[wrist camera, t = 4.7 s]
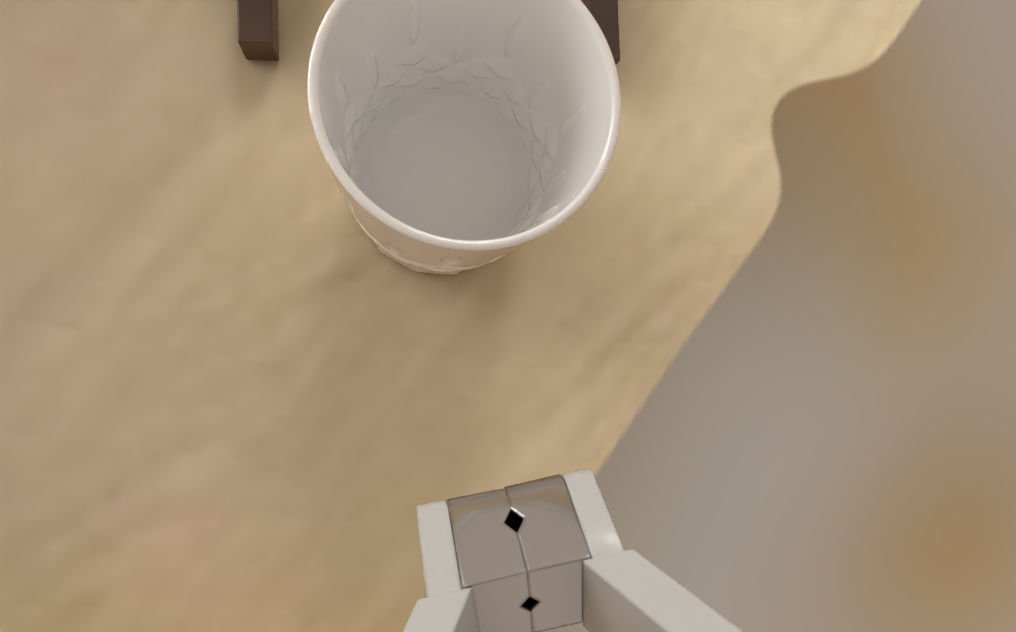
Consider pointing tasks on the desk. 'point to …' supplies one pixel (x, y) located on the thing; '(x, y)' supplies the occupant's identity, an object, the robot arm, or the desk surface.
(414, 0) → the white cup
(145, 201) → the desk surface
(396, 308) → the desk surface
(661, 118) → the desk surface
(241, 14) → the dock
